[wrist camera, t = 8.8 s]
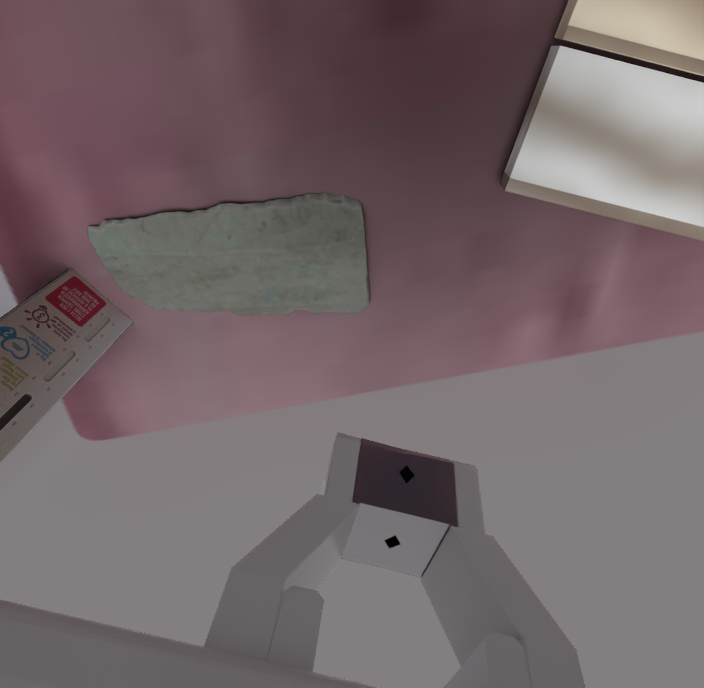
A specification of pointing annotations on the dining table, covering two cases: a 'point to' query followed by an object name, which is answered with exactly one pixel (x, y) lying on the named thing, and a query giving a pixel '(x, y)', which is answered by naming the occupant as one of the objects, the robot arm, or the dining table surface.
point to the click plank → (613, 142)
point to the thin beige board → (640, 30)
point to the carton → (50, 350)
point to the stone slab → (243, 257)
